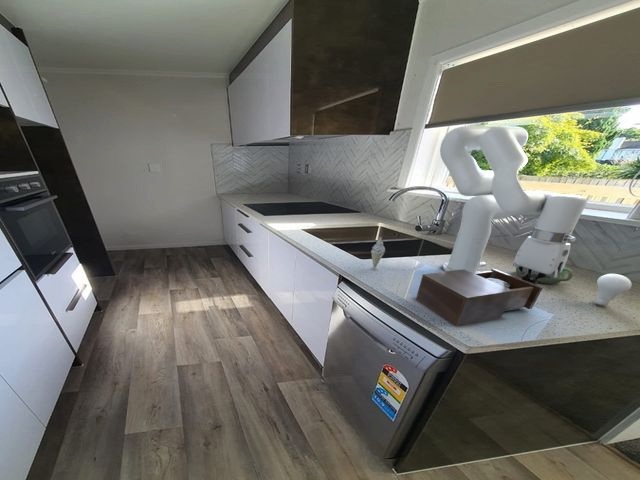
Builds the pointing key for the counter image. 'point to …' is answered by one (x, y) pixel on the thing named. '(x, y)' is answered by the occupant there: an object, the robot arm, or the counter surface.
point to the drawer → (515, 289)
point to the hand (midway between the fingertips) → (525, 287)
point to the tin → (500, 282)
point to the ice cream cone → (377, 252)
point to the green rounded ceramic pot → (557, 280)
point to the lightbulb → (611, 287)
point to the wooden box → (463, 296)
